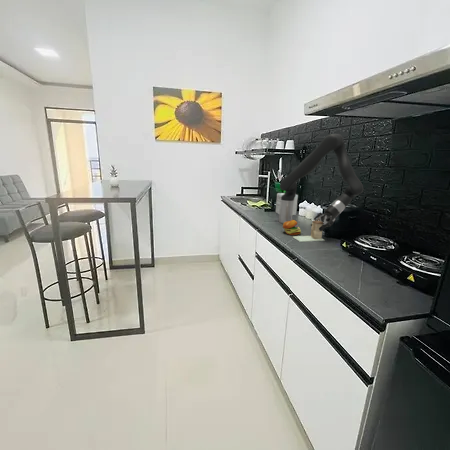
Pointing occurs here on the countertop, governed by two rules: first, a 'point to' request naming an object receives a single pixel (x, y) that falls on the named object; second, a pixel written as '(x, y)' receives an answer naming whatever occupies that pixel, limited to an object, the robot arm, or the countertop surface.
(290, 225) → the cheeseburger
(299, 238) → the sage board
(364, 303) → the countertop surface
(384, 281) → the countertop surface
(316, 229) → the beech block
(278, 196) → the supplement box
